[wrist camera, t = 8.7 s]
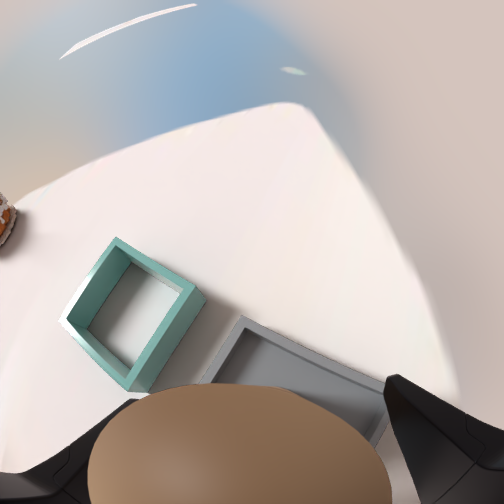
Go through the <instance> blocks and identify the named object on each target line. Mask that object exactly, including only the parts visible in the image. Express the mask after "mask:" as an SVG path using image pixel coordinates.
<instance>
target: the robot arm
mask: <svg viewBox="0 0 504 504" xmlns="http://www.w3.org/2000/svg"><path fill="white" fill-rule="evenodd" d="M383 397H384V400H385V404H386V407H387V411H388V414H389V418H390V421H391V425H392V428H393V431H394V434H395V436H396V438H397V441H398V443H399V446H400V448H401V451H402V453H403V456H404V458H405V461H406V463H407V466H408V469H409V471H410V474H411V477H412V479H413V482H414V485H415V488H416V490H417V493H418V496H419V499H420V502H421V504H504V430H501V429H499V428H496V427H493V426H491V425H489V424H486V423H484V422H482V421H479V420H478V419H476V418H474V417H472V416H470V415H469V414H466V413H465V412H463V411H461V410H459V409H458V408H456V407H454V406H452V405H451V404H449V403H447V402H445V401H444V400H442V399H440V398H438V397H437V396H435V395H433V394H431V393H430V392H428V391H426V390H424V389H423V388H421V387H419V386H418V385H416V384H414V383H413V382H411V381H409V380H407V379H406V378H404V377H402V376H401V375H399V374H394V375H391V376H388V377H387V379H386V382H385V387H384V391H383ZM138 400H139V399H129V400H127V401H126V402H125V403H124V404H122V405H121V406H120V407H119V408H117V409H116V410H115V411H113V412H112V413H111V414H110V415H108V416H107V417H106V418H104V419H103V420H102V421H101V422H99V423H98V424H97V425H95V426H94V427H93V428H91V429H90V430H89V431H87V432H86V433H85V434H83V435H82V436H81V437H79V438H78V439H77V440H75V441H74V442H73V443H71V444H70V446H67V447H66V448H64V449H63V450H62V451H60V452H59V453H57V454H56V455H54V456H53V457H51V458H49V459H48V460H46V461H44V462H42V463H41V464H39V465H37V466H35V467H33V468H31V469H29V470H28V471H25V472H22V473H4V472H0V504H92V503H91V500H90V496H89V489H88V465H89V459H90V455H91V452H92V449H93V447H94V444H95V442H96V440H97V438H98V437H99V435H100V433H101V432H102V430H103V429H104V428H105V426H106V425H107V424H108V423H109V421H110V420H112V419H113V418H114V417H115V416H116V415H117V414H118V413H119V412H120V411H122V410H123V409H125V408H126V407H128V406H129V405H131V404H132V403H134V402H136V401H138Z"/></svg>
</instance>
